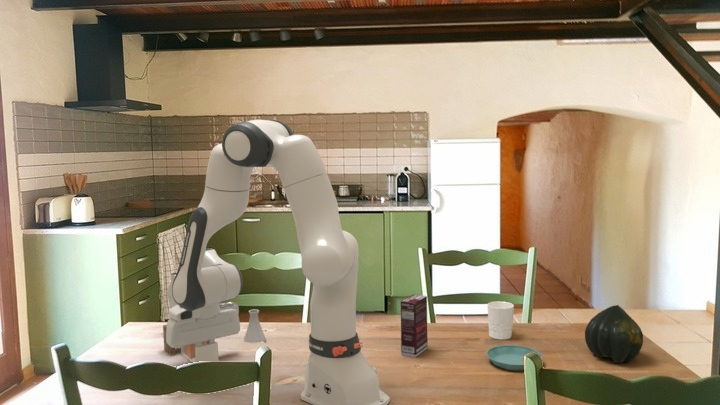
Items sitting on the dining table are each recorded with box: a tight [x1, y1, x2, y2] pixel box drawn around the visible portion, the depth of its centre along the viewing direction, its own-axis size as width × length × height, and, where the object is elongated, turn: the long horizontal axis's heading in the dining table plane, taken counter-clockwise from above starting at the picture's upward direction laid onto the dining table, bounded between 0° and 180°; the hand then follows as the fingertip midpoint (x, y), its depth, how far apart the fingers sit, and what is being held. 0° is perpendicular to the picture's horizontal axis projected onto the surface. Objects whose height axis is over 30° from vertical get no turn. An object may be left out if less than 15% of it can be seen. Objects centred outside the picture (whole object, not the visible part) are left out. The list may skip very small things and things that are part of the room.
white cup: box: [487, 300, 515, 340], centre depth 187 cm, size 8×8×10 cm
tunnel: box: [162, 324, 209, 357], centre depth 176 cm, size 6×12×8 cm, turn 126°
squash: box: [584, 304, 644, 364], centre depth 168 cm, size 14×15×15 cm
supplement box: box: [400, 294, 429, 358], centre depth 174 cm, size 9×5×16 cm, turn 149°
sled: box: [180, 341, 220, 363], centre depth 169 cm, size 15×6×6 cm, turn 36°
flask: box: [243, 308, 267, 344], centre depth 184 cm, size 7×7×10 cm
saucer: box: [486, 344, 543, 371], centre depth 165 cm, size 15×15×3 cm
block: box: [184, 341, 207, 358], centre depth 172 cm, size 5×5×6 cm
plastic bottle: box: [166, 271, 178, 320], centre depth 191 cm, size 6×7×20 cm
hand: (205, 355), depth 167 cm, fingers closed, pressing on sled
